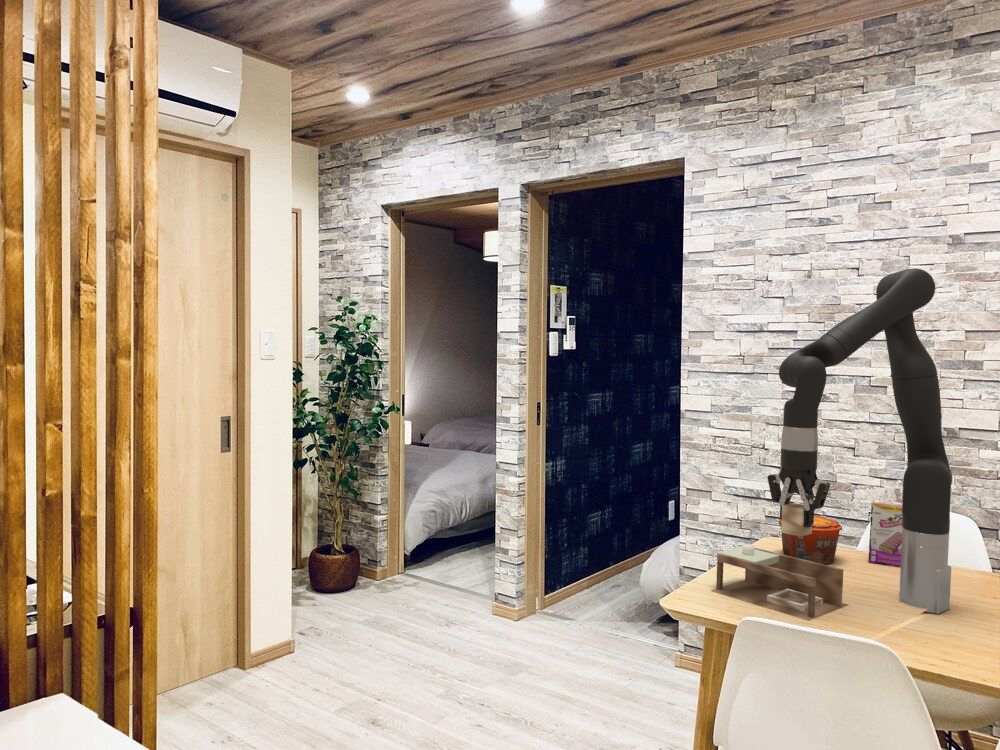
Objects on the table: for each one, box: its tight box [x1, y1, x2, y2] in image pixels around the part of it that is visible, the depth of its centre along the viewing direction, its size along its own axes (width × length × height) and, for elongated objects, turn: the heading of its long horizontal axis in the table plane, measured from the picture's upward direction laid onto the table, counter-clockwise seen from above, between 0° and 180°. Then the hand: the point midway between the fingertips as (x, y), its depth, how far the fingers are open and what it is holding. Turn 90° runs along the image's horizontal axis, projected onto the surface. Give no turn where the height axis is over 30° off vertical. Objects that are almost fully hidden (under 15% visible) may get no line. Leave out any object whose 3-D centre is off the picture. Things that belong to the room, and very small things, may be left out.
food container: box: [778, 514, 843, 566], centre depth 216 cm, size 16×16×11 cm
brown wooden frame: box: [711, 547, 850, 622], centre depth 179 cm, size 24×17×9 cm
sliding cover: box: [716, 543, 780, 566], centre depth 185 cm, size 10×10×4 cm
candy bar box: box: [868, 499, 903, 567], centre depth 212 cm, size 11×5×16 cm, turn 59°
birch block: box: [780, 502, 812, 537], centre depth 175 cm, size 5×5×6 cm
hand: (796, 524), depth 175 cm, fingers closed on birch block, 4 cm apart
